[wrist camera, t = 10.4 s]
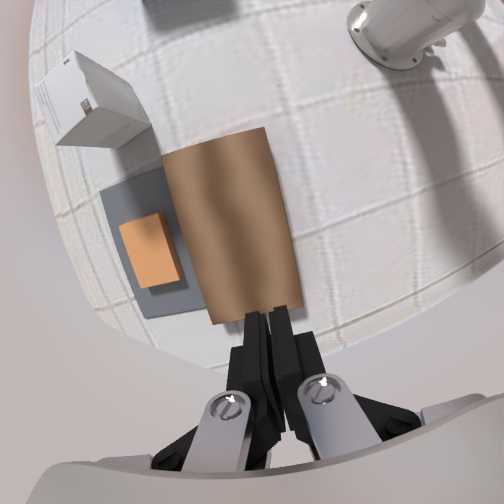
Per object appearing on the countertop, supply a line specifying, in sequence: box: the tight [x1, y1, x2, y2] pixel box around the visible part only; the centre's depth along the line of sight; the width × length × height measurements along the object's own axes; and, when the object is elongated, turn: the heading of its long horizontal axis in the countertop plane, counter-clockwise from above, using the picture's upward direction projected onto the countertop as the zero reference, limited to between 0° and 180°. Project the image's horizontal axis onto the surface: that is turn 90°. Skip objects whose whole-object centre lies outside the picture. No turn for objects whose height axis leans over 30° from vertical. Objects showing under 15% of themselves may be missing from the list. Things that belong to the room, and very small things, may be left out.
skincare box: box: [34, 50, 151, 149], centre depth 23 cm, size 8×6×15 cm
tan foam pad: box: [119, 211, 183, 288], centre depth 34 cm, size 9×6×2 cm, turn 14°
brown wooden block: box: [161, 127, 304, 325], centre depth 33 cm, size 12×22×4 cm, turn 14°
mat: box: [100, 167, 206, 318], centre depth 36 cm, size 11×20×1 cm, turn 14°
